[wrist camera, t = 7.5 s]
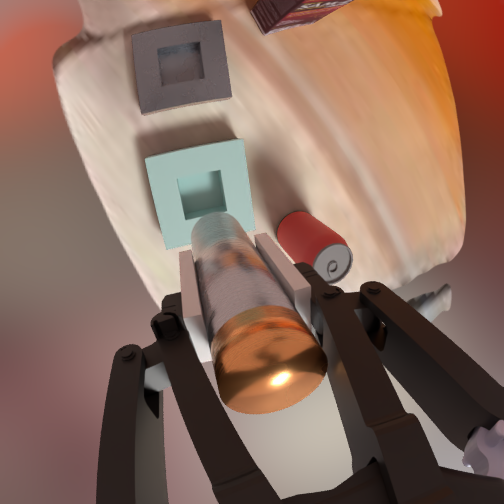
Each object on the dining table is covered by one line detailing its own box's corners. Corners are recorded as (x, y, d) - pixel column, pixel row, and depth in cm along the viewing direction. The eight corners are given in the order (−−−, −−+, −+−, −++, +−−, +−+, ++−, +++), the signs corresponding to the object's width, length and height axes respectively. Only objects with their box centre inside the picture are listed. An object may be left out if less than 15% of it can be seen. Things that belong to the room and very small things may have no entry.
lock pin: (185, 218, 20) (206, 360, 8) (239, 206, 21) (331, 325, 9) (196, 266, 22) (230, 423, 10) (246, 254, 23) (324, 394, 10)
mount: (134, 41, 26) (131, 35, 24) (217, 27, 28) (220, 19, 25) (144, 115, 31) (141, 114, 28) (227, 99, 33) (232, 97, 30)
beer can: (277, 254, 44) (309, 295, 33) (274, 213, 41) (308, 245, 31) (315, 245, 45) (354, 282, 35) (314, 207, 42) (358, 234, 32)
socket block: (147, 156, 33) (144, 158, 30) (237, 138, 35) (243, 139, 32) (167, 240, 39) (166, 249, 36) (249, 221, 41) (255, 229, 38)
